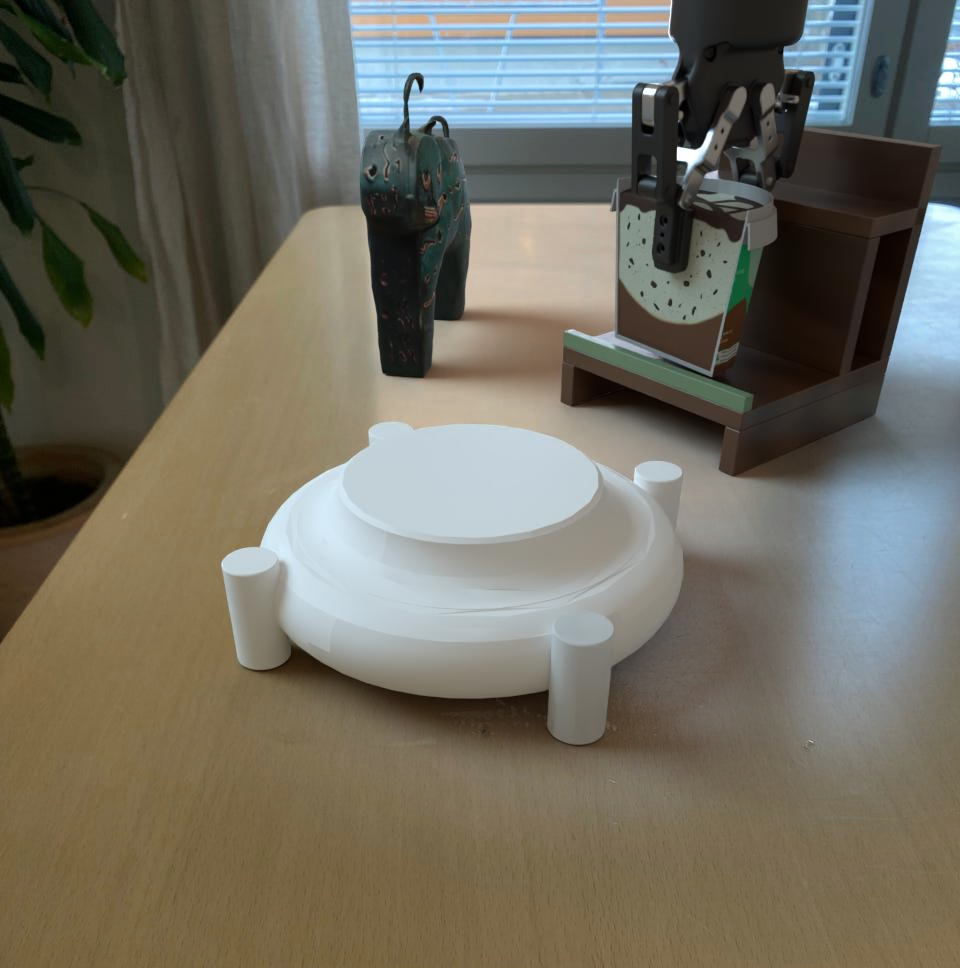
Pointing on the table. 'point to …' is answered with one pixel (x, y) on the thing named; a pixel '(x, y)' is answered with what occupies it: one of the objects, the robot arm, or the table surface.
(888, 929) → the table surface
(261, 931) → the table surface
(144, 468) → the table surface
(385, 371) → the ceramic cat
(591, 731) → the round stand with pegs
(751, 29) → the robot arm
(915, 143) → the step rack
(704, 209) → the food container
